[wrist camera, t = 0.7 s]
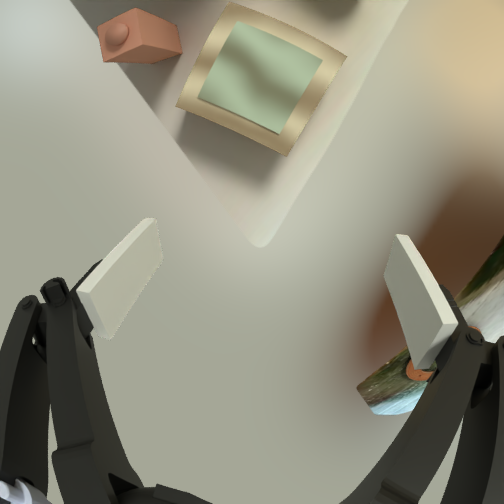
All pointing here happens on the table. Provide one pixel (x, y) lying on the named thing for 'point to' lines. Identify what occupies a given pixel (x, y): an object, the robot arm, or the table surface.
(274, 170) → the table surface
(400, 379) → the table surface
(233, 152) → the table surface
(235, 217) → the table surface
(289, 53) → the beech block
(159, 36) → the pink knobbed block
